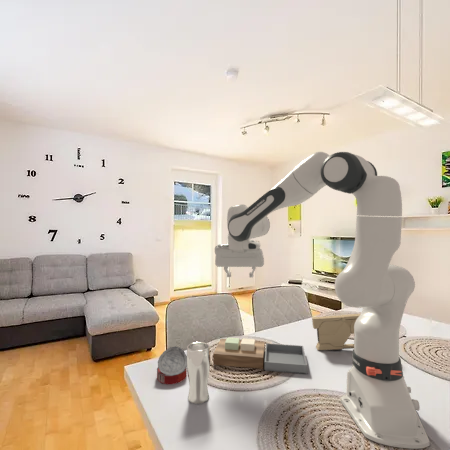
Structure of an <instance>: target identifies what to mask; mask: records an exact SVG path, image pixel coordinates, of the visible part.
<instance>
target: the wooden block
mask: <svg viewBox="0 0 450 450" xmlns="http://www.w3.org/2000/svg"><path fill="white" fill-rule="evenodd" d="M226 339H227V338H220V340H219V342H218V343H217V345H216V347H215V350H214V352H213V355H212V356H213V359H212V360H213V362H212V363H213V366H223V367H224V366H225V367H235V368H236V367H237V368H247V369H248V368H249V369H257V370H258V369H259V370H261V369H262V370H264V367H265V363H264V362H265V349H266V343H265V341H258V340H255V349H254V351H243V350H241V341H242V339H240V346H239V349H238V350H230V349H225V341H226Z"/></svg>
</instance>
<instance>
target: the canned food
mask: <svg viewBox="0 0 450 450" xmlns="http://www.w3.org/2000/svg"><path fill="white" fill-rule="evenodd" d="M186 360H187V353H186V352H185V350H183V348H181V347H178V346H172V347H171V346H170V347H168V348H167V349H165V350H164V351H163V352H162V353H161V354H160V355H159V357H158V361H157V368H156V380H157V381H158V382H159V383H160V384H163V385H176V384H179V383H181V382H183V381H185V380H186V378H187V377H188V373H187V362H186Z"/></svg>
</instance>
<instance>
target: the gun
mask: <svg viewBox="0 0 450 450" xmlns="http://www.w3.org/2000/svg"><path fill="white" fill-rule="evenodd" d="M360 314H361V313H354V314H352V313H351V314H350V313H349V314H339V315H328V316H327V315H326V316H323V315H322V316H312V317H311V322H312V328H313V329H314V330H316V334H317V343H316V345H315V348H316V350H317V351H319V352H323V351H340V350H341V351H342V350H344V349H345V350H348V349H352V350H353V349H354V343H346V342H347V341H348V340H349V338H350V337H351V335H352V334H353V335H354V324H355V321H356V320H357V318H358V317H359V316H360Z"/></svg>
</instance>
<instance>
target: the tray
mask: <svg viewBox="0 0 450 450" xmlns="http://www.w3.org/2000/svg"><path fill="white" fill-rule="evenodd" d="M308 365H309V364H308V361H307V358H306V353H305V349H304V346H303V345H296V344H295V345H294V344H282V343H281V344H280V343H270V342H269V343H268V342H267V343H265V354H264V372H276V373H277V372H278V373H288V374H289V373H290V374H299V375H301V374H302V375H308V369H309V368H308Z"/></svg>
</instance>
